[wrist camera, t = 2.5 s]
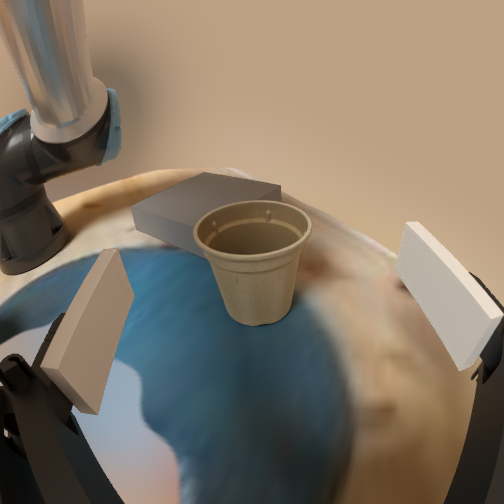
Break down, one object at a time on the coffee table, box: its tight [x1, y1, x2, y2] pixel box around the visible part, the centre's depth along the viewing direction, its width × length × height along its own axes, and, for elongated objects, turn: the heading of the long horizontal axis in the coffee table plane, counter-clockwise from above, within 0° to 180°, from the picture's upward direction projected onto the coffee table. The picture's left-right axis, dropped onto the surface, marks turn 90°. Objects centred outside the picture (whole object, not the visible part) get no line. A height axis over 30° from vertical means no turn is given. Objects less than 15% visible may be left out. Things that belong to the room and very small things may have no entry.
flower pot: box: [193, 200, 312, 326], centre depth 26 cm, size 9×9×9 cm
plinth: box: [131, 172, 281, 260], centre depth 43 cm, size 16×16×4 cm
